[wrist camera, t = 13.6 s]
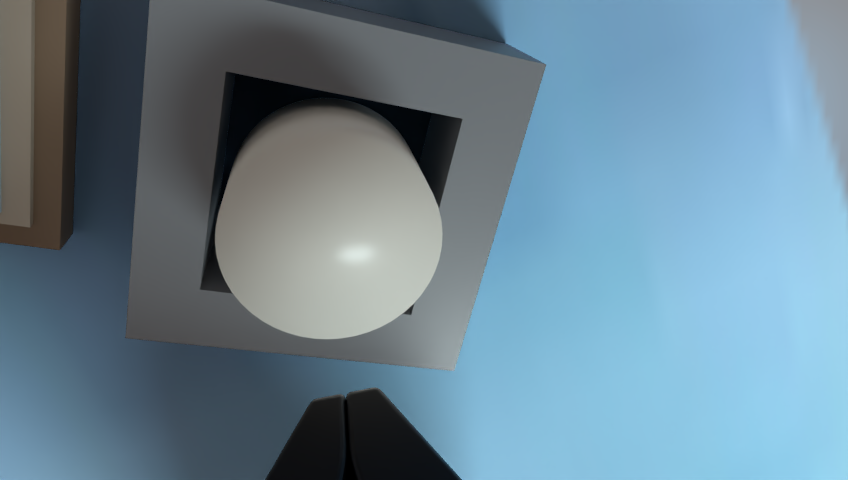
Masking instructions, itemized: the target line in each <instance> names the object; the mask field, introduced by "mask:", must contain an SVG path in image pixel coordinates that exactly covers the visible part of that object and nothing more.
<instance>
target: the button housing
mask: <svg viewBox="0 0 848 480" xmlns="http://www.w3.org/2000/svg"><path fill="white" fill-rule="evenodd" d="M545 67H546V64H544V63H542V62H540V61H538V60H537V59H535V58H533V57H531V56H529V55H527V54H525V53H523V52H521V51H519V50H518V49H516V48H514V47H512V46H510V45H508V44H505V43H501V42H497V41H492V40H488V39H484V38H480V37H475V36H471V35H467V34H463V33H458V32H454V31H450V30H445V29H441V28H437V27H433V26H428V25H424V24H420V23H416V22H411V21H407V20H403V19H399V18H394V17H390V16H386V15H381V14H377V13H373V12H369V11H364V10H360V9H356V8H352V7H347V6H343V5H339V4H334V3H330V2H326V1H322V0H150V2H149V16H148V30H147V44H146V58H145V72H144V86H143V100H142V114H141V128H140V142H139V156H138V170H137V184H136V198H135V212H134V226H133V239H132V253H131V267H130V281H129V295H128V309H127V323H126V337H125V338H129V339H139V340H149V341H159V342H169V343H179V344H189V345H199V346H209V347H219V348H229V349H239V350H249V351H259V352H269V353H279V354H289V355H299V356H309V357H319V358H329V359H339V360H349V361H359V362H369V363H379V364H389V365H399V366H409V367H419V368H429V369H439V370H449V371H454V369H455V366H456V363H457V359H458V356H459V353H460V349H461V346H462V343H463V339H464V336H465V333H466V329H467V326H468V323H469V319H470V316H471V313H472V309H473V306H474V303H475V299H476V296H477V293H478V289H479V286H480V283H481V279H482V276H483V273H484V269H485V266H486V263H487V259H488V256H489V253H490V250H491V246H492V243H493V240H494V236H495V233H496V230H497V226H498V223H499V220H500V216H501V213H502V210H503V206H504V203H505V200H506V196H507V193H508V190H509V186H510V183H511V180H512V176H513V173H514V170H515V166H516V163H517V160H518V156H519V153H520V150H521V146H522V143H523V140H524V137H525V133H526V130H527V127H528V123H529V120H530V117H531V113H532V110H533V107H534V103H535V100H536V97H537V93H538V90H539V87H540V83H541V80H542V77H543V73H544V70H545ZM235 73H236V74H241V75H246V76H251V77H256V78H261V79H266V80H271V81H276V82H281V83H286V84H291V85H296V86H301V87H306V88H311V89H316V90H321V91H326V92H331V93H336V94H341V95H346V96H351V97H356V98H361V99H366V100H371V101H376V102H381V103H386V104H391V105H396V106H401V107H406V108H411V109H416V110H421V111H426V112H431V117H430V122H429V126H428V130H427V134H426V138H425V142H424V146H423V151H422V155H421V159H420V163H419V167H420V169H421V171H422V173H423V175H424V177H425V179H426V181H427V183H428V185H429V187H430V189H431V191H432V193H433V195H434V197H435V200H436V203H437V205H438V208H439V212H440V216H441V221H442V233H443V235H442V248H441V253H440V258H439V262H438V265H437V268H436V270H435V273H434V275H433V277H432V279H431V281H430V283H429V284H428V286H427V287H426V289H425V290H424V292H423V293H422V295H421V296H420V297H419V298H418V299H417V300H416V302H415V303H414V304H413V305H412V306H411V307H409V308H408V309H407V310H406V311H405V312H404V313H403V314H401V315H400V316H398V317H397V318H396V319H394V320H393V321H391V322H389V323H387V324H386V325H384V326H382V327H380V328H377V329H375V330H373V331H370V332H368V333H364V334H361V335H357V336H353V337H347V338H341V339H313V338H307V337H300V336H297V335H293V334H290V333H286V332H284V331H281V330H279V329H276V328H274V327H272V326H270V325H268V324H267V323H265V322H263V321H261V320H260V319H259V318H257V317H256V316H255V315H253V314H252V313H250V312H249V311H248V310H247V309H246V308H245V307H244V306H243V305H242V304H241V303H240V302H239V301H238V299H237V298H236V297H235V296H234V294H233V293H232V292H231V290H230V288H229V287H228V285H227V283H226V282H225V280H224V277H223V275H222V272H221V270H220V267H219V263H218V259H217V256H216V247H215V229H216V223H217V218H218V210H219V202H220V194H221V186H222V178H223V170H224V162H225V154H226V146H227V138H228V130H229V122H230V114H231V106H232V98H233V89H234V81H235Z"/></svg>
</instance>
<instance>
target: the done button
mask: <svg viewBox="0 0 848 480" xmlns="http://www.w3.org/2000/svg"><path fill="white" fill-rule="evenodd" d="M442 235H443V233H442V221H441V216H440V212H439V208H438V205H437V203H436V200H435V197H434V195H433V193H432V191H431V189H430V187H429V185H428V183H427V181H426V179H425V177H424V175H423V173H422V171H421V169H420V167H419V165H418V163H417V161H416V159H415V158H414V156H413V154H412V152H411V150H410V148H409V146H408V144H407V143H406V141H405V139H404V138H403V137H402V135H401V134H400V133H399V131H398V130H397V129H396V128H395V127H394V126H393V125H392V124H391V123H390V122H389V121H388V120H386V119H385V118H384V117H383V116H381V115H380V114H378V113H377V112H375V111H373V110H371V109H370V108H368V107H365V106H363V105H361V104H358V103H355V102H351V101H348V100H344V99H336V98H313V99H305V100H301V101H297V102H294V103H291V104H288V105H286V106H283V107H281V108H279V109H277V110H276V111H274V112H272V113H271V114H269V115H268V116H266V117H265V118H264V119H262V120H261V121H260V122H259V123H258V124H257V125H256V126H255V127H254V128H253V129H252V130H251V131H250V132H249V134H248V135H247V136H246V138H245V139H244V141H243V142H242V144H241V146H240V148H239V150H238V152H237V154H236V157H235V160H234V163H233V166H232V169H231V173H230V176H229V179H228V183H227V186H226V189H225V193H224V196H223V199H222V203H221V206H220V209H219V213H218V218H217V223H216V229H215V247H216V256H217V259H218V263H219V267H220V270H221V272H222V275H223V277H224V280H225V282H226V283H227V285H228V287H229V288H230V290H231V292H232V293H233V294H234V296H235V297H236V298H237V299H238V301H239V302H240V303H241V304H242V305H243V306H244V307H245V308H246V309H247V310H248V311H249V312H250V313H252V314H253V315H255V316H256V317H257V318H259V319H260V320H261V321H263V322H265V323H267V324H268V325H270V326H272V327H274V328H276V329H279V330H281V331H284V332H286V333H290V334H293V335H297V336H300V337H307V338H313V339H341V338H347V337H353V336H357V335H361V334H364V333H368V332H370V331H373V330H375V329H377V328H380V327H382V326H384V325H386V324H387V323H389V322H391V321H393V320H394V319H396V318H397V317H398V316H400V315H401V314H403V313H404V312H405V311H406V310H407V309H408V308H409V307H411V306H412V305H413V304H414V303H415V302H416V300H417V299H418V298H419V297H420V296H421V295H422V293H423V292H424V290H425V289H426V287H427V286H428V284H429V283H430V281H431V279H432V277H433V275H434V273H435V270H436V268H437V265H438V262H439V258H440V253H441V248H442Z"/></svg>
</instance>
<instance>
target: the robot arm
mask: <svg viewBox="0 0 848 480" xmlns="http://www.w3.org/2000/svg"><path fill="white" fill-rule="evenodd" d="M265 480H462V479H461V478H460V477H459V476H458V475H457V474H456V473H455V472H454V471H453V469H452V468H451V467H450V466H449V465H448V464H447V463H446V462H445V461H444V460H443V458H442V457H441V456H440V455H439V454H438V453H437V452H436V451H435V450H434V448H433V447H432V446H431V445H430V444H429V443H428V442H427V441H426V440H425V439H424V437H423V436H422V435H421V434H420V433H419V432H418V431H417V430H416V429H415V427H414V426H413V425H412V424H411V423H410V422H409V421H408V420H407V419H406V418H405V416H404V415H403V414H402V413H401V412H400V411H399V410H398V409H397V408H396V407H395V405H394V404H393V403H392V402H391V401H390V400H389V399H388V398H387V397H386V395H385V394H384V393H383V392H382V391H381V390H380V389H378V388H369V389H364V390H359V391H354V392H350V393H348V394H347V397H346V398H345V397H344V396H343V395H341V394H338V395H333V396H328V397H323V398H318V399H315V400H313V401H312V402H311V403H310V404H309V406H308V407H307V409H306V411H305V413H304V414H303V416H302V418H301V419H300V421H299V423H298V424H297V426H296V428H295V430H294V431H293V433H292V435H291V436H290V438H289V440H288V442H287V443H286V445H285V447H284V448H283V450H282V452H281V454H280V455H279V457H278V459H277V460H276V462H275V464H274V466H273V467H272V469H271V471H270V472H269V474H268V476H267V478H266V479H265Z"/></svg>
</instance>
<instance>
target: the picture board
mask: <svg viewBox="0 0 848 480" xmlns="http://www.w3.org/2000/svg"><path fill="white" fill-rule="evenodd" d="M80 3H81V0H0V243H8V244H16V245H24V246H32V247H40V248H47V249H55V250H60V249H61V248H62V247H63V246H64V244H65V243H66V242H67V240H68V239H69V238H70V236H71V235H72V234H73V211H74V181H75V152H76V122H77V92H78V63H79V33H80Z"/></svg>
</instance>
